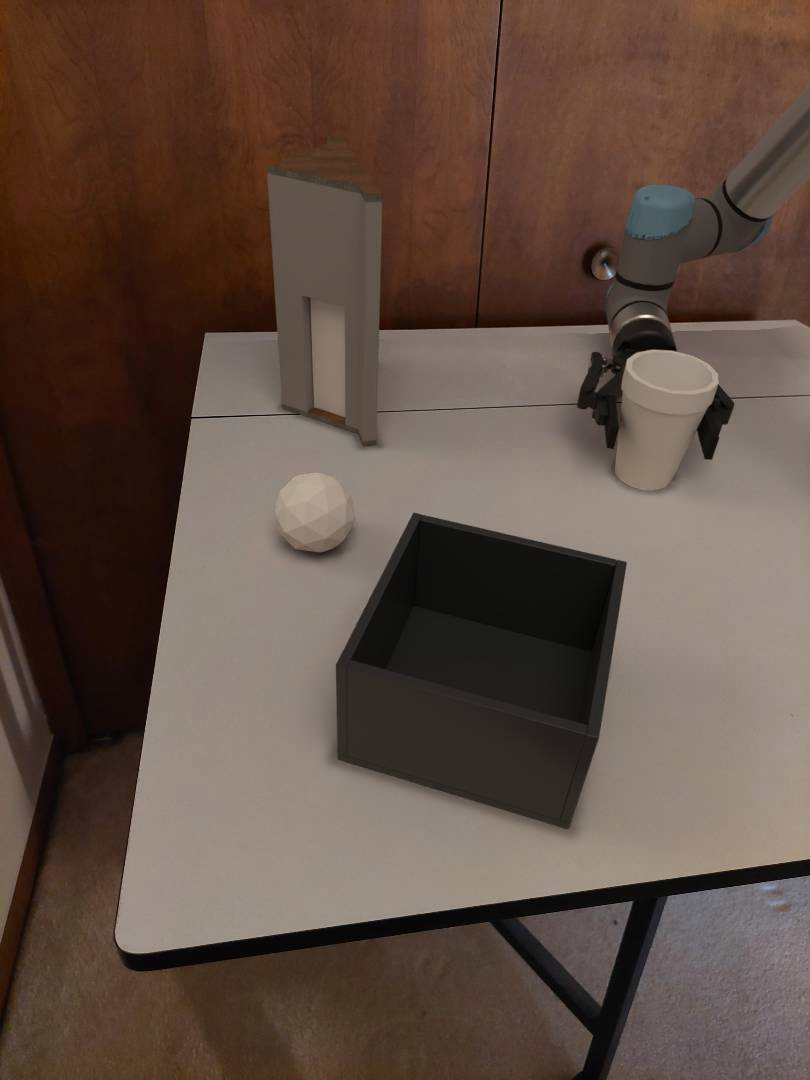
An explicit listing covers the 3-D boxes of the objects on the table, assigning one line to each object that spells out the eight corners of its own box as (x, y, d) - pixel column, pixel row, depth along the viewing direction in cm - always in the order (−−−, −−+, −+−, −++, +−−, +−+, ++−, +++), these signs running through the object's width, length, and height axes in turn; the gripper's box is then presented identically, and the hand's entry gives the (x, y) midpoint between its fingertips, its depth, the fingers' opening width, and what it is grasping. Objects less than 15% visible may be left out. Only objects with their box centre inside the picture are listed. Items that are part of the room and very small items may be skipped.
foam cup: (633, 506, 86) (663, 401, 78) (584, 460, 93) (607, 358, 84) (702, 487, 89) (738, 384, 81) (651, 444, 96) (679, 344, 87)
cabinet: (376, 444, 93) (382, 194, 75) (293, 453, 91) (279, 197, 73) (342, 360, 108) (341, 135, 90) (271, 365, 106) (255, 137, 88)
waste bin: (599, 653, 70) (627, 561, 63) (568, 829, 57) (599, 738, 50) (407, 604, 73) (413, 512, 66) (337, 759, 60) (335, 665, 53)
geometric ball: (331, 552, 83) (377, 494, 80) (312, 581, 75) (362, 518, 72) (272, 507, 82) (316, 447, 79) (247, 531, 74) (295, 466, 72)
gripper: (723, 381, 102) (759, 484, 85) (549, 363, 103) (549, 461, 86) (742, 326, 97) (783, 423, 80) (558, 308, 98) (561, 400, 81)
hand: (662, 443), depth 83 cm, fingers closed on foam cup, 9 cm apart
